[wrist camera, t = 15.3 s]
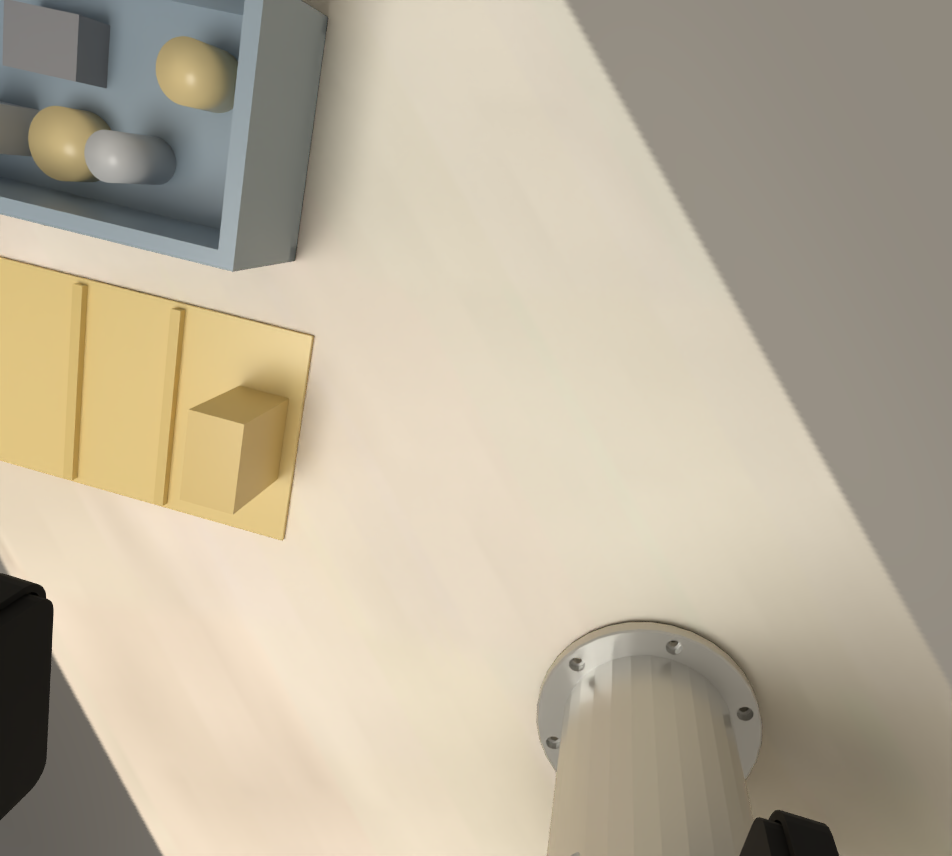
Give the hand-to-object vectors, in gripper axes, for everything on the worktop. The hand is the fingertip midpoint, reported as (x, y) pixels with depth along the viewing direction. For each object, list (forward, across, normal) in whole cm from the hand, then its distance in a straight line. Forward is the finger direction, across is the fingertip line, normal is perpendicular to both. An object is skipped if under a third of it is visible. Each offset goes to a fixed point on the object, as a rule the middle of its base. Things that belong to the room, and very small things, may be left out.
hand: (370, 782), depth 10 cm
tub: (+32, +25, -7) cm, 41 cm away
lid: (+33, +24, +9) cm, 41 cm away
